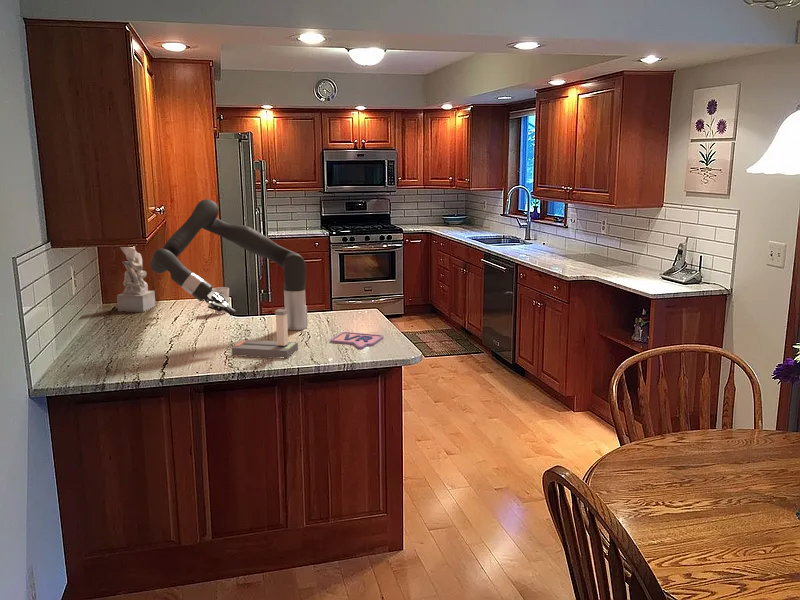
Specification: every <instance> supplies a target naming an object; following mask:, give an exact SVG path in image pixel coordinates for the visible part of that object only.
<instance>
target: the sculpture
mask: <svg viewBox="0 0 800 600" xmlns="http://www.w3.org/2000/svg"><path fill="white" fill-rule="evenodd" d="M119 249H120V250H121V251H122V252H123V254H124V255H125V259H126V260H127V261H126V260H125V261H122V262H121V263H122V264H123V265H124V267H125V268H126V271H125V272H124V278H123V279H124V280H123V286H124V289H123V291H122V293H119V294H117V295H116V301H117V304H116V305H117V312H121V311H126V313H127V312H128V313H130V312H131V313H133V312H136V313H144V311H145V312H147V311H149V310H151V309H153V308H155V307H154V306H156V292H155V290H149V285H148V283H147V282H146V281H145V280H144V278H146V277H147V271H146V270H143V268H144V267H143V257H142V254H141V253H140V252H138V251H137V250H136V246H133V247H119ZM152 307H153V308H152ZM150 308H151V309H150ZM148 309H149V310H148ZM146 310H147V311H146Z"/></svg>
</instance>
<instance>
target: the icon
mask: <svg viewBox="0 0 800 600" xmlns="http://www.w3.org/2000/svg"><path fill="white" fill-rule="evenodd" d="M329 340H330V343H332V342H333V343H332V344H339V345H340V344H341V345H342V344H343V345H351V346H352V345H353V346H354V345H355V346H354V347H355V348H356V349H358V350H364V349H366V348H367V347H373V346H375V345H377V344H378V343H379V342H381V341H383V340H384V335H383V334H377V333H376V334H373V333H366V332H365V333H362V332H354V331H353V332H351V331H342V332H340V333H338V334H337V335H335V336H333V337H331V338H330V339H329Z"/></svg>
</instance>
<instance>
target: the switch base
mask: <svg viewBox="0 0 800 600" xmlns="http://www.w3.org/2000/svg"><path fill="white" fill-rule="evenodd" d="M298 350H299V342H295V341H288V343H287V344H286V345H285V346H283V345H277V340H275V341H274V340H257V339H254V340H253V339H242V340H241V341H239V342H238V343H236V344H234V346H232V347H231V356H234V355H246V356H245V357H251V356H259V357H258V358H269V357H284V358H283V359H286V358H287V359H289V358H290V357H291V356H292V355H294V354H295V353H296V352H297V351H298ZM295 351H296V352H295ZM294 352H295V353H294ZM293 353H294V354H293ZM291 354H292V355H291ZM290 355H291V356H290ZM289 356H290V357H289ZM288 357H289V358H288Z"/></svg>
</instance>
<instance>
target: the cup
mask: <svg viewBox="0 0 800 600" xmlns="http://www.w3.org/2000/svg"><path fill="white" fill-rule="evenodd" d="M212 290H213V291H215V292H217V293H218V294H220V292H222V293H223V294H224V296H225V297H226V299H227V300H228V303H229V302H230V301H229V297H230V288H229V287H227V286H226V287H225V286H219V287H213V288H212ZM215 313H218V314H217V315H222V314H221V313H227V312H225V311H221V312H220V311H217V310H214V314H215Z"/></svg>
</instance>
